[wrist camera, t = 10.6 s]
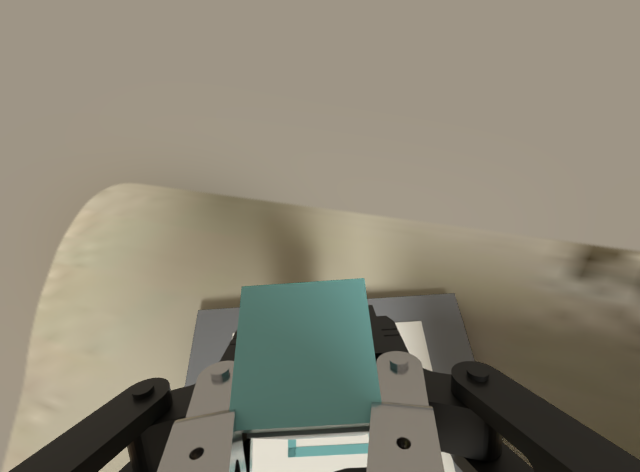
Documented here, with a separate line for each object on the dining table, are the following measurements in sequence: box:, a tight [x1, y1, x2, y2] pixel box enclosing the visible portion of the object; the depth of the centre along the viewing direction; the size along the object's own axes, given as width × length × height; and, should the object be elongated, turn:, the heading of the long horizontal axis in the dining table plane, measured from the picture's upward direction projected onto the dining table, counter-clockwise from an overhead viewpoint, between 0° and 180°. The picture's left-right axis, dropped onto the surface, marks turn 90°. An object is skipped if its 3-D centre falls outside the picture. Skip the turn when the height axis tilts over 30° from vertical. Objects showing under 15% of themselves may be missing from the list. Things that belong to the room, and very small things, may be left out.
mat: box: [185, 293, 475, 472], centre depth 21 cm, size 20×14×1 cm
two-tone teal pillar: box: [229, 278, 382, 440], centre depth 11 cm, size 3×3×10 cm
